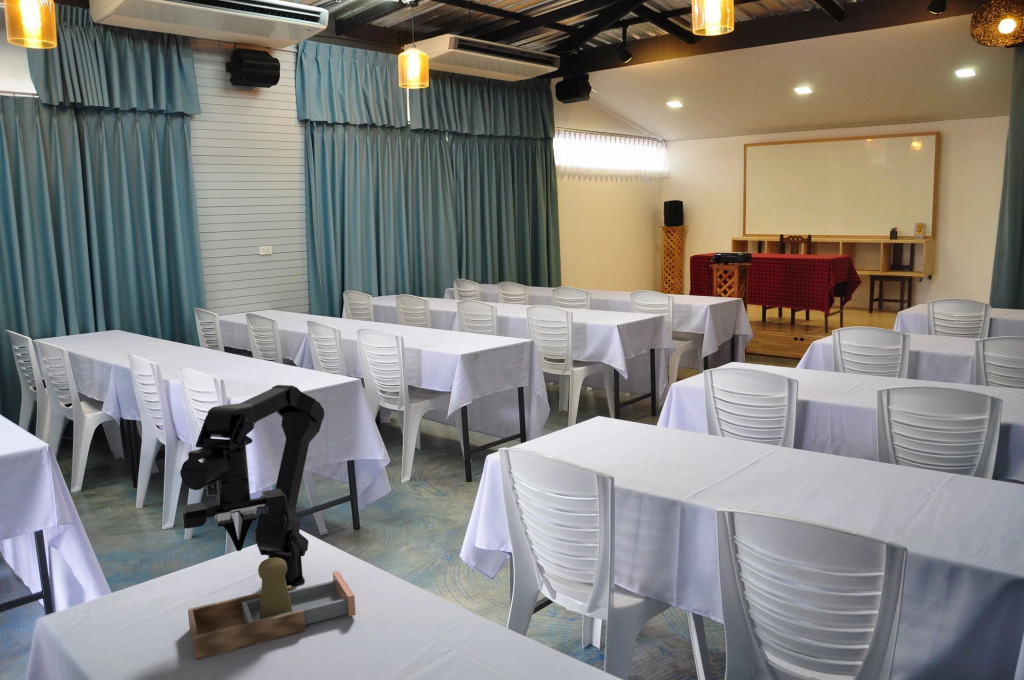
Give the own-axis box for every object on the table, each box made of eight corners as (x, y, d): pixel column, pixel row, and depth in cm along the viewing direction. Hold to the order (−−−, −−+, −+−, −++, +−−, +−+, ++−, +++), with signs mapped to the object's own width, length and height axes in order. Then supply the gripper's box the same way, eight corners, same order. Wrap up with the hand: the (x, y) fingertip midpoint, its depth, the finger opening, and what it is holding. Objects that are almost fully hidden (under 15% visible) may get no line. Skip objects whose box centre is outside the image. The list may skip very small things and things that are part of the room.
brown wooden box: (292, 604, 155) (291, 585, 155) (305, 631, 145) (303, 611, 144) (189, 629, 147) (187, 609, 146) (195, 659, 137) (193, 638, 136)
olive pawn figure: (252, 620, 147) (248, 564, 145) (273, 605, 152) (269, 551, 150) (279, 625, 144) (274, 569, 143) (299, 610, 150) (295, 555, 148)
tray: (339, 589, 160) (338, 571, 159) (355, 614, 149) (354, 595, 148) (241, 613, 151) (240, 593, 150) (251, 641, 141) (249, 620, 140)
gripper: (274, 453, 159) (280, 526, 162) (175, 468, 151) (183, 545, 153) (285, 468, 149) (291, 545, 152) (180, 485, 141) (188, 567, 143)
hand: (238, 550), depth 150 cm, fingers closed
